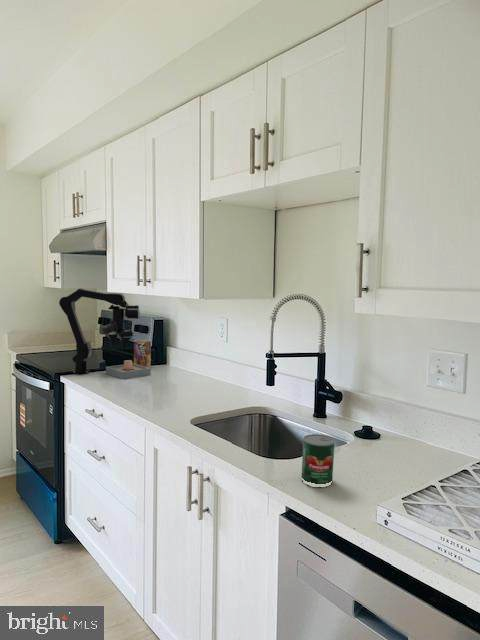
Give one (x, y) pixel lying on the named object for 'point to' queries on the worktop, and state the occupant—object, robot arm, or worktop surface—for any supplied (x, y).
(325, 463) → the canned tomato
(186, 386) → the worktop surface
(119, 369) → the bin
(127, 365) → the peg
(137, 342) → the candy box
